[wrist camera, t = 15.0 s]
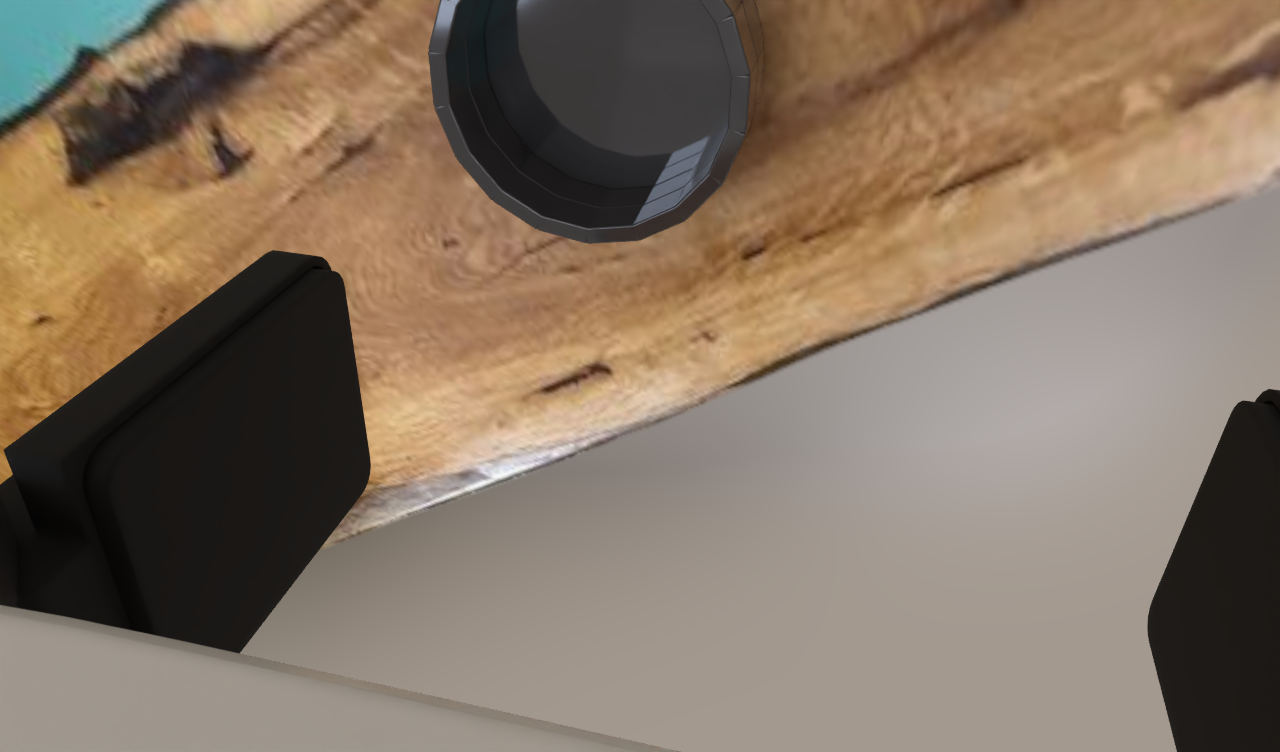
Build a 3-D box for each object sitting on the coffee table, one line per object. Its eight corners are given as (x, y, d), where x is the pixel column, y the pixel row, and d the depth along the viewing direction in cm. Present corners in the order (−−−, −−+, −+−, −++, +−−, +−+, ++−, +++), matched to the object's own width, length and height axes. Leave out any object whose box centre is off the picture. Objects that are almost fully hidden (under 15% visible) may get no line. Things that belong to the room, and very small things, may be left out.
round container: (777, -102, 30) (762, -83, 27) (752, 212, 36) (737, 260, 32) (462, -116, 32) (411, -100, 29) (485, 186, 38) (445, 228, 34)
